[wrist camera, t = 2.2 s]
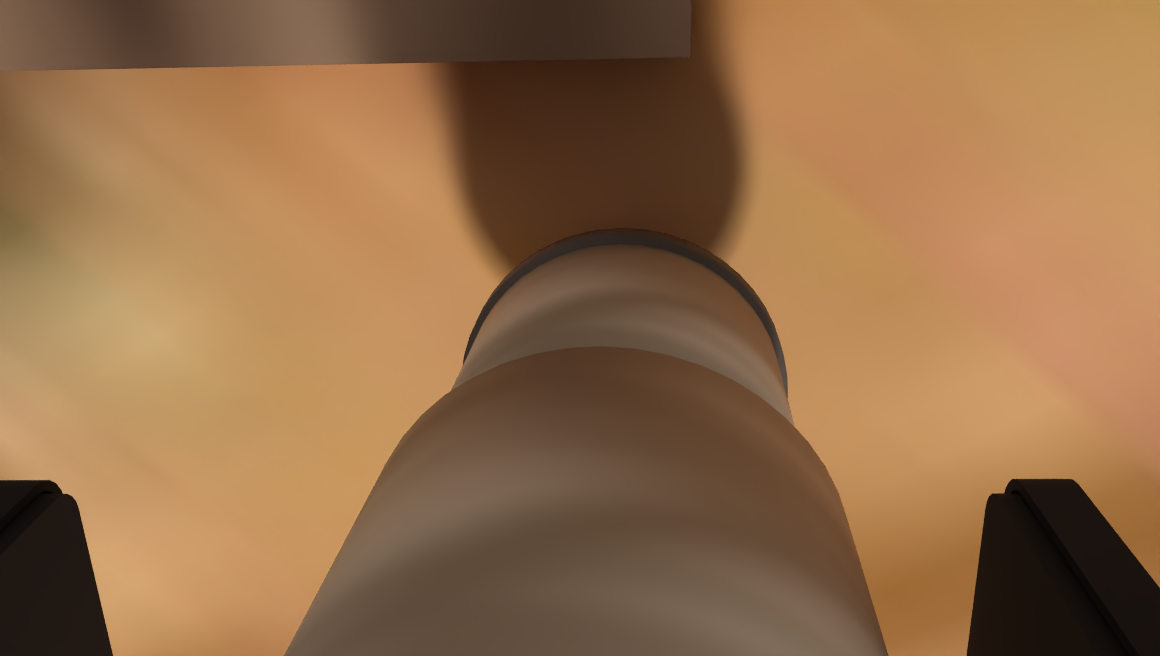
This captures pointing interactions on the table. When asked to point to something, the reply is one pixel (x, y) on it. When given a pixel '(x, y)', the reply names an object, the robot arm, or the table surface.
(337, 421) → the table surface
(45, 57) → the walnut board
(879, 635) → the ash leg
